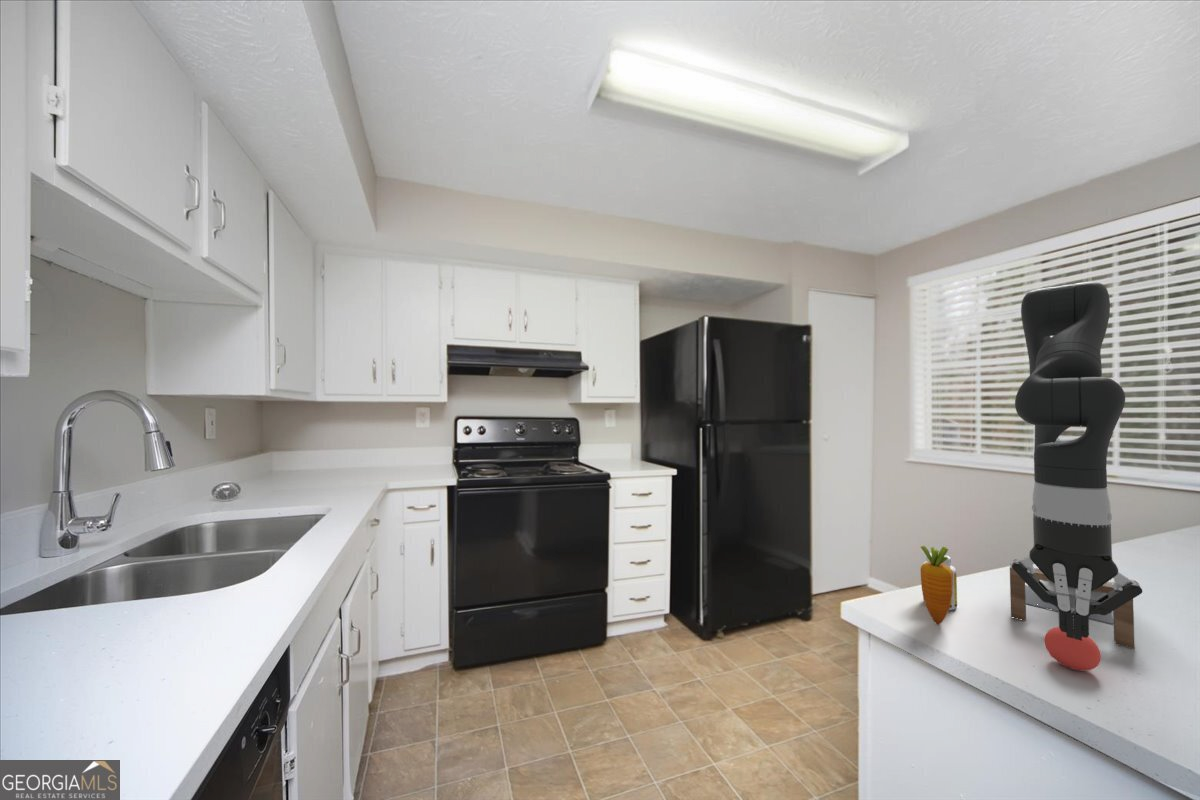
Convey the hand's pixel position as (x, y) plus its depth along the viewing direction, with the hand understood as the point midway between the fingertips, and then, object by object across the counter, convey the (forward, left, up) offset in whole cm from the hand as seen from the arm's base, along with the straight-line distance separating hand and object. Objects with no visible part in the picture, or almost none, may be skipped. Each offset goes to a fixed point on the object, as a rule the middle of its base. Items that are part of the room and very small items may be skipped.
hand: (1073, 636), depth 61 cm
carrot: (-11, -17, -9) cm, 22 cm away
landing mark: (-39, 0, -8) cm, 40 cm away
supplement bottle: (-21, -18, -9) cm, 29 cm away
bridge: (-25, 0, -8) cm, 26 cm away
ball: (-9, 0, -5) cm, 11 cm away
